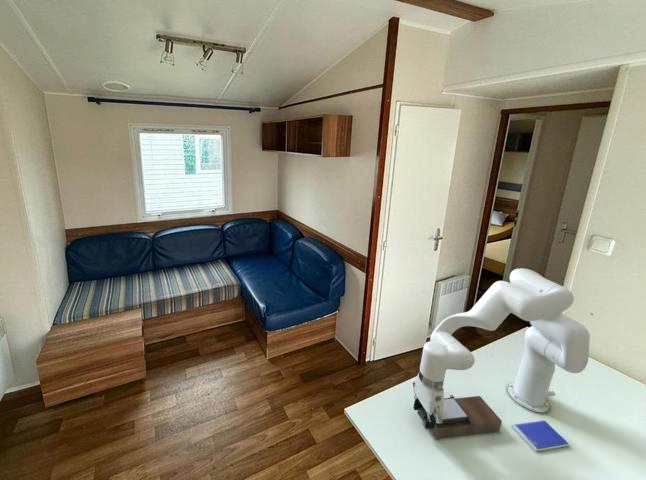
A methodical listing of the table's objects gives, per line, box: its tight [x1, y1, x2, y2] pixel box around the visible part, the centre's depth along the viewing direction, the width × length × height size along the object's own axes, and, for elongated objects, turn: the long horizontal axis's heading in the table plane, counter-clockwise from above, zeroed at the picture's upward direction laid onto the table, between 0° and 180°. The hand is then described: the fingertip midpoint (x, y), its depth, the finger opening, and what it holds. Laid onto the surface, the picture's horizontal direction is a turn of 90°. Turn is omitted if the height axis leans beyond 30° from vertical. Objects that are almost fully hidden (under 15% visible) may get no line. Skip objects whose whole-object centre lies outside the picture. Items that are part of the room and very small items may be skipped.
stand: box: [423, 394, 503, 440], centre depth 104 cm, size 24×10×7 cm, turn 97°
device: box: [417, 396, 469, 425], centre depth 103 cm, size 16×8×4 cm, turn 97°
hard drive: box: [513, 420, 569, 452], centre depth 100 cm, size 2×8×12 cm
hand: (423, 417), depth 102 cm, fingers open, 6 cm apart
